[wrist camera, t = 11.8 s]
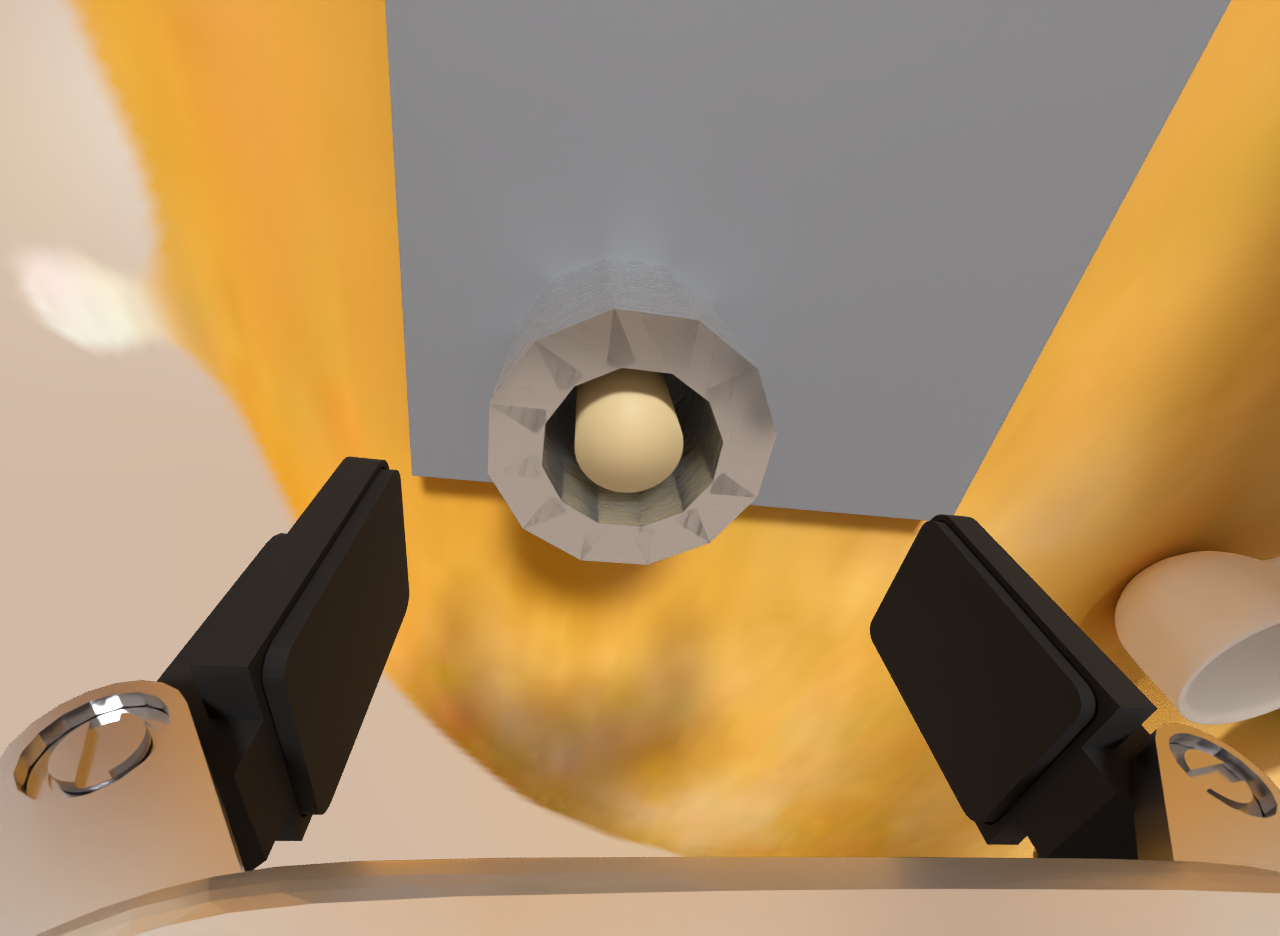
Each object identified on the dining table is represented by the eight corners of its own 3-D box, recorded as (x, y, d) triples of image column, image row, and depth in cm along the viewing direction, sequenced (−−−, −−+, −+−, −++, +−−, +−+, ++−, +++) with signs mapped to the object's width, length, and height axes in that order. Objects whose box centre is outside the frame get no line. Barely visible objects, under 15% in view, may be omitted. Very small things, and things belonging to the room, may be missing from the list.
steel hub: (744, 278, 18) (808, 335, 12) (698, 465, 21) (734, 570, 16) (521, 244, 17) (491, 291, 11) (511, 447, 20) (485, 553, 15)
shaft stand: (1190, -10, 16) (1552, -98, 10) (930, 502, 25) (1040, 618, 19) (392, -223, 13) (216, -548, 7) (422, 455, 22) (358, 576, 16)
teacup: (1116, 657, 32) (1205, 744, 27) (1063, 594, 29) (1154, 681, 24) (1301, 554, 29) (1438, 634, 24) (1265, 471, 26) (1413, 544, 21)
